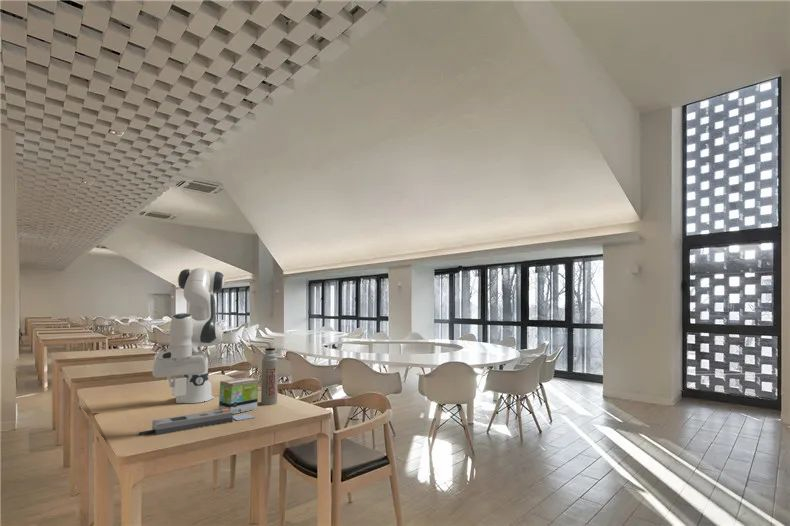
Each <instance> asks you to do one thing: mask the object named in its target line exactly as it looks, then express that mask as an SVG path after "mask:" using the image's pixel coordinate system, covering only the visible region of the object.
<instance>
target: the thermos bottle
mask: <svg viewBox="0 0 790 526" xmlns="http://www.w3.org/2000/svg"><path fill="white" fill-rule="evenodd" d="M264 351H265V352H264V354H263V358H262V359H261V388H260V389H261V393H260V394H261V395H260V396H261V397H260V404H261V405H263V406H264V405H265V406H269V405H270V406H271V404H272V405H275V404H277V403H278V383H279V382H278V372H279V370H278V367H279V360H278V358H277V357H278V355H277V353H276V348H275V347H267V348H266V347H265V349H264Z"/></svg>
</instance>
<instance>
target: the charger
mask: <svg viewBox="0 0 790 526" xmlns="http://www.w3.org/2000/svg"><path fill="white" fill-rule="evenodd" d="M172 382H174V387H171V388H172V389H171V395H172V396H173V397H176V396H182V395H186V382H187V378H186V377H184V375H181V376H173V377H172Z"/></svg>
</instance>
